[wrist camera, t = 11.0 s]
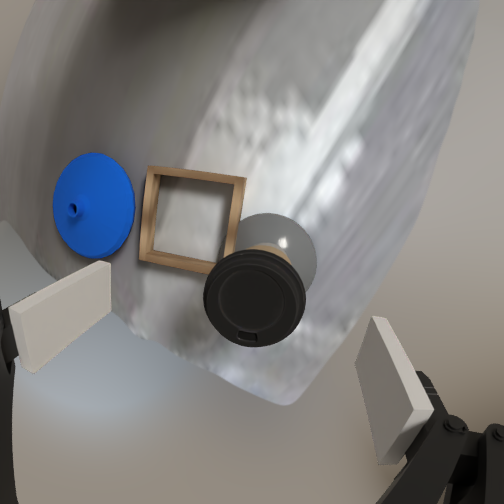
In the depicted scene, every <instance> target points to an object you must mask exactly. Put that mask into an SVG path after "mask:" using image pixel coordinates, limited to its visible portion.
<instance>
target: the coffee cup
mask: <svg viewBox="0 0 504 504" xmlns="http://www.w3.org/2000/svg"><path fill="white" fill-rule="evenodd" d="M203 301H204V307H205V311H206V314H207V316H208V318H209V320H210V322H211V323H212V325H213V326H214V327H215V328H216V330H217V331H218V332H219V333H220V334H221V335H222V336H224V337H225V338H226V339H228V340H229V341H231V342H233V343H235V344H238V345H241V346H246V347H263V346H268V345H272V344H275V343H277V342H279V341H281V340H283V339H285V338H286V337H287V336H289V335H290V334H291V333H292V332H293V331H294V330H295V328H296V327H297V326H298V324H299V322H300V320H301V318H302V316H303V313H304V310H305V304H306V294H305V288H304V285H303V282H302V280H301V278H300V276H299V274H298V273H297V271H296V270H295V269H294V267H293V266H292V265H291V262H290V260H289V258H288V257H287V254H286V252H285V251H284V250H283V249H282V248H281V247H280V246H278V245H276V244H273V243H259V244H256V245H254V246H252V247H249V248H247V249H245V250H241V251H237V252H234V253H232V254H229V255H227V256H226V257H224V258H223V259H221V260H220V261H219V262H218V263H217V264H216V265H215V266H214V267H213V269H212V270H211V272H210V273H209V275H208V277H207V280H206V283H205V287H204V293H203Z"/></svg>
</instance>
